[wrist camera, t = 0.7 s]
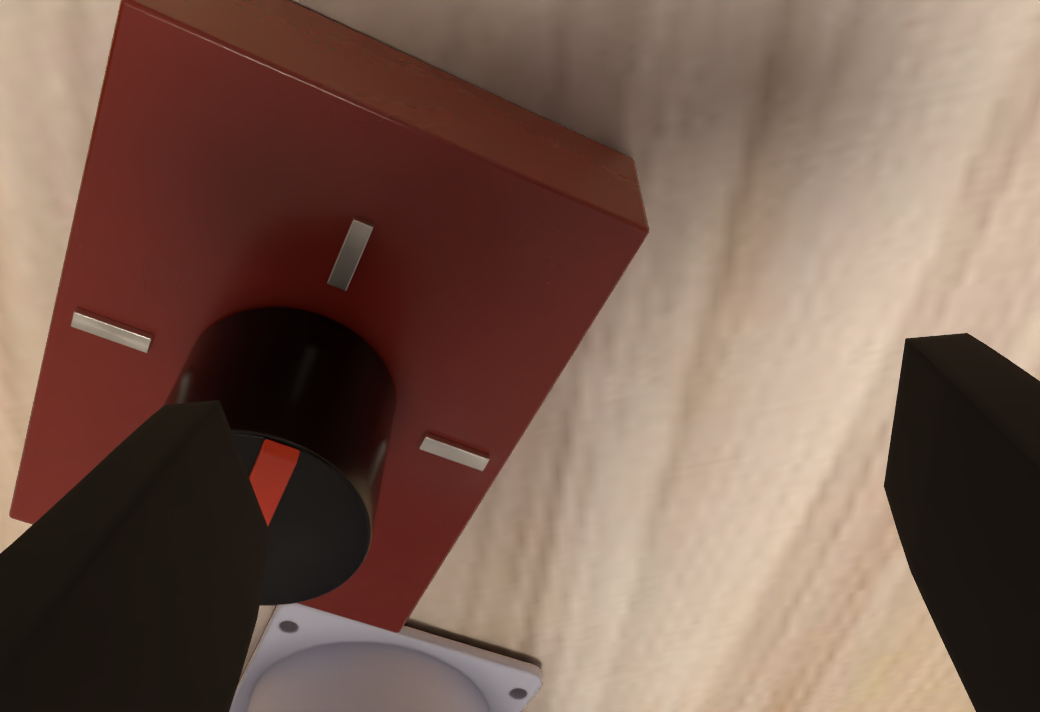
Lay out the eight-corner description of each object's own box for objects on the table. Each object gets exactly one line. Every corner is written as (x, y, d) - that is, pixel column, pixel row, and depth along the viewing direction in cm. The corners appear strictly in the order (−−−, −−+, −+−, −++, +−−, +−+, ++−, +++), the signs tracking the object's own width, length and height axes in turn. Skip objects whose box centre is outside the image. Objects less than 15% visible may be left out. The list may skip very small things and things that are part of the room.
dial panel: (411, 542, 25) (398, 641, 22) (62, 428, 23) (3, 524, 20) (635, 158, 18) (652, 235, 16) (181, -52, 16) (115, -1, 14)
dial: (355, 494, 20) (323, 645, 17) (164, 430, 19) (92, 578, 16) (427, 353, 18) (405, 496, 14) (216, 273, 17) (144, 409, 13)
